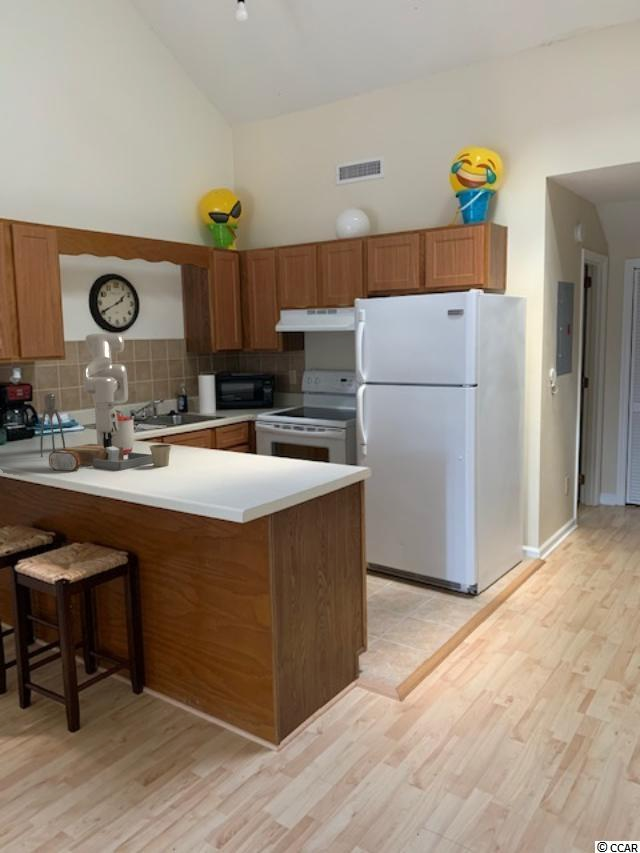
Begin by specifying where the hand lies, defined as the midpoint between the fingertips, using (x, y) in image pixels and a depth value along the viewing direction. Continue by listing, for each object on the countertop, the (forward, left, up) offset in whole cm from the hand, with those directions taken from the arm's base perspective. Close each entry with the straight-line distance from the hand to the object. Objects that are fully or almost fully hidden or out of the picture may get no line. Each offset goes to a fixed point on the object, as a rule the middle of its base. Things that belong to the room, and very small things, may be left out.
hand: (107, 447), depth 295 cm
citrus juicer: (-20, -16, -7) cm, 26 cm away
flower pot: (-6, +26, -7) cm, 28 cm away
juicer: (+2, -39, -7) cm, 39 cm away
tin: (+20, -3, -7) cm, 22 cm away
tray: (0, +10, -7) cm, 13 cm away
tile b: (0, +2, -4) cm, 4 cm away
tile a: (0, +3, -2) cm, 3 cm away
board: (0, -11, -7) cm, 13 cm away
